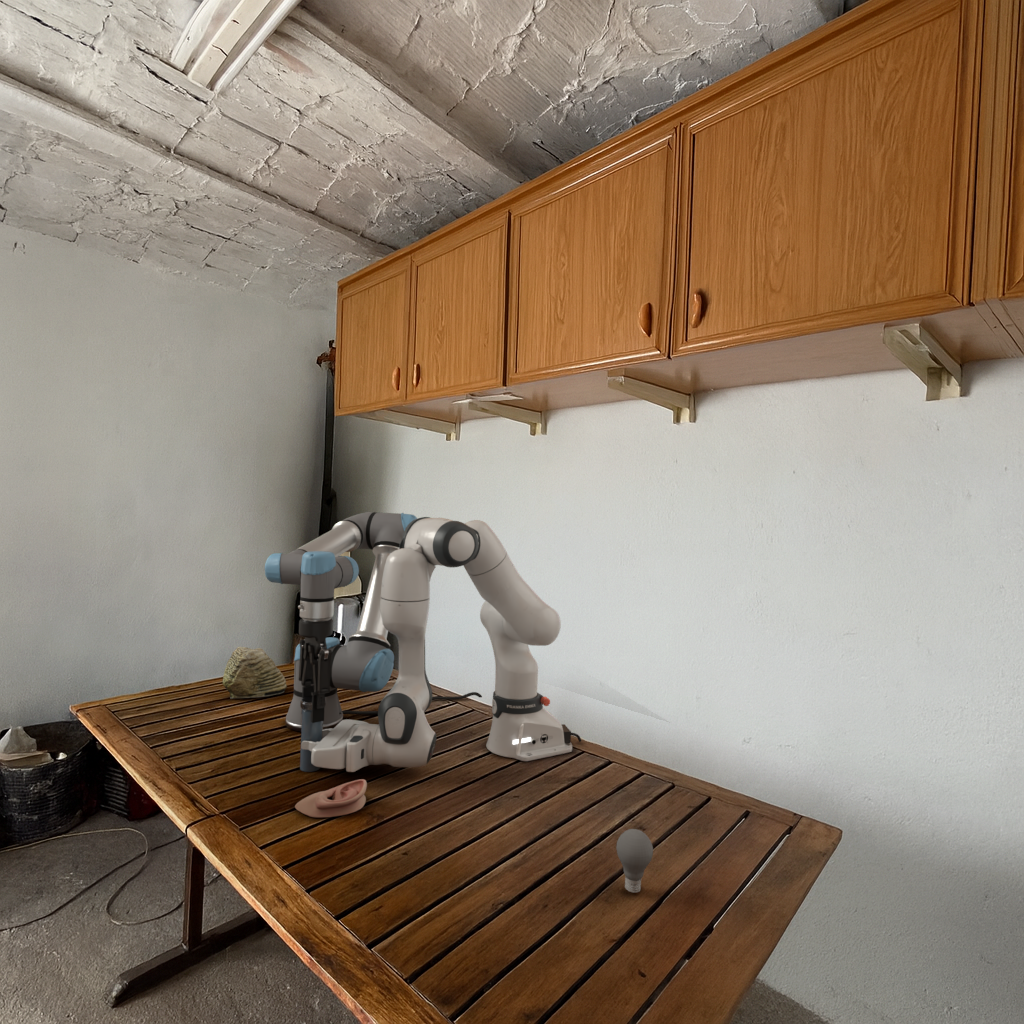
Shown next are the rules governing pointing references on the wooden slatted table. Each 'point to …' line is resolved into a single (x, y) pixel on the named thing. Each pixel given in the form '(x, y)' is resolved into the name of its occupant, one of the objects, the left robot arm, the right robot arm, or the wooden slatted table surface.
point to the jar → (310, 733)
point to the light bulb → (634, 857)
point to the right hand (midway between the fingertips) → (307, 739)
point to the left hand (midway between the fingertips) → (312, 717)
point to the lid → (307, 703)
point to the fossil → (252, 674)
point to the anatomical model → (335, 800)
